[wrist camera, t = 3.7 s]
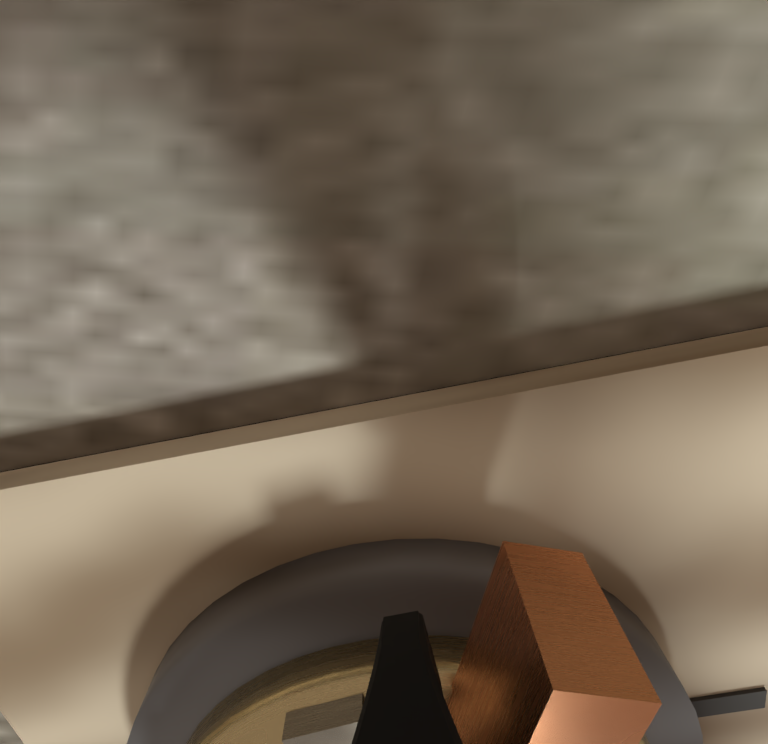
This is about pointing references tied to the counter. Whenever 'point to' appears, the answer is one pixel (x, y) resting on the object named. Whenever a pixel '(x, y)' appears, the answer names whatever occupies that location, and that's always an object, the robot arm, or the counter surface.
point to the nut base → (398, 541)
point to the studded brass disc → (475, 671)
